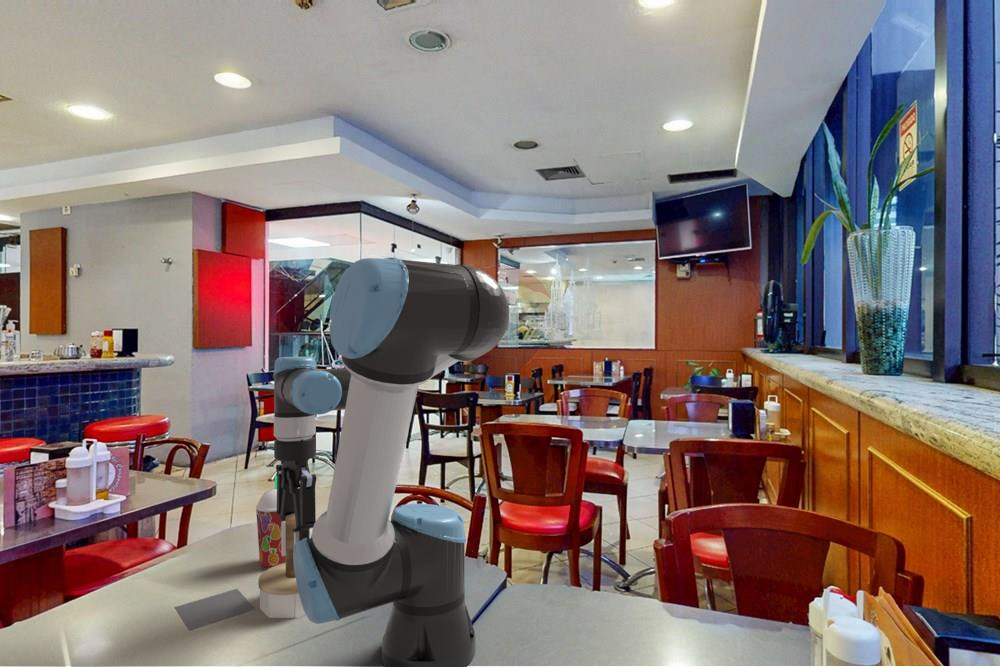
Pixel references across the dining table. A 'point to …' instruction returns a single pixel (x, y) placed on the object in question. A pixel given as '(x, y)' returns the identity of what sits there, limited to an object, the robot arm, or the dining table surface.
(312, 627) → the dining table surface
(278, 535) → the smoothie
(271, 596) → the bowl
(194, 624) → the mat
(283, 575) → the wooden peg stand
